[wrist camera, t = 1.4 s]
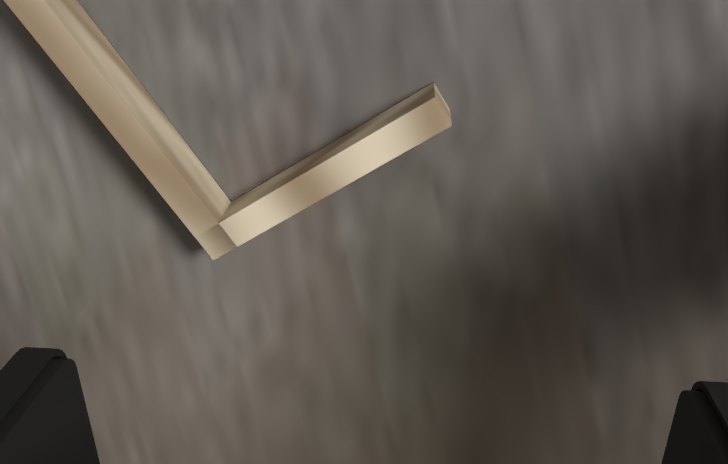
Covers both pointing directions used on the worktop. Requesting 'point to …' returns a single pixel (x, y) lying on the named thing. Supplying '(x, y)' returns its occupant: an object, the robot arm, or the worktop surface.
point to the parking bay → (177, 161)
